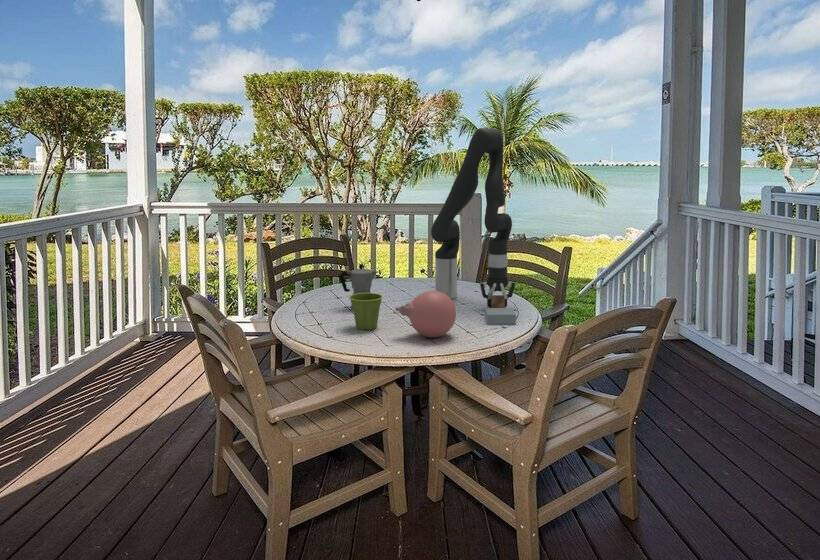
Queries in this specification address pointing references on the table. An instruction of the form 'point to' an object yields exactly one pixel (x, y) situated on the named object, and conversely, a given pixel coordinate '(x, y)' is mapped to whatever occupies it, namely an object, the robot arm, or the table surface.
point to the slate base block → (500, 316)
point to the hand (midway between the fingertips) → (496, 307)
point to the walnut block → (497, 301)
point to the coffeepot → (358, 280)
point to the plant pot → (366, 309)
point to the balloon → (430, 313)
